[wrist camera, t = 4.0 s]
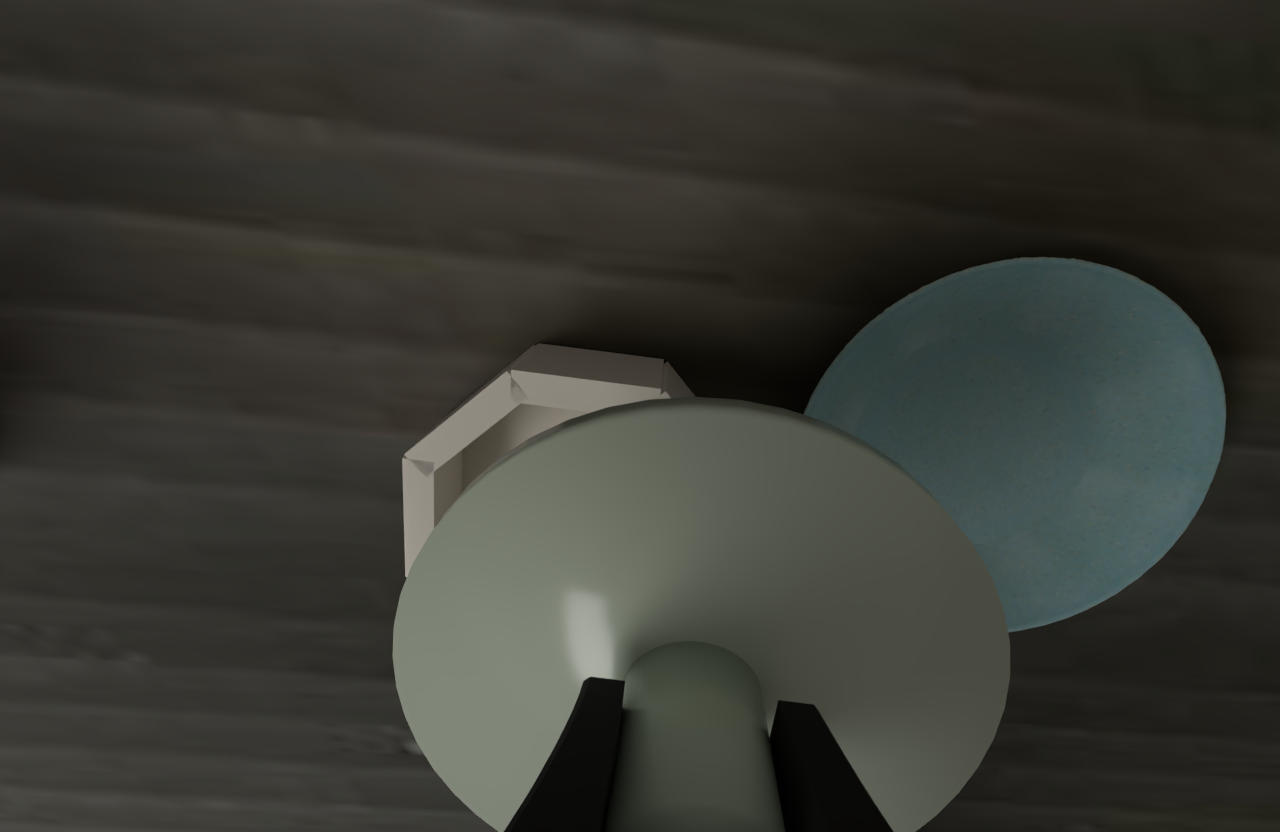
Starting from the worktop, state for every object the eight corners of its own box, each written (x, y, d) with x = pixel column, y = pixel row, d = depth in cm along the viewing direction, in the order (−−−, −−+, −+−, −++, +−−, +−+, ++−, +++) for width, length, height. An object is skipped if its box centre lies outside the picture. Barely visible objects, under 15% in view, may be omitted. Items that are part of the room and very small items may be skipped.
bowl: (792, 518, 20) (812, 574, 17) (572, 655, 23) (556, 724, 20) (607, 285, 18) (592, 300, 15) (385, 465, 20) (335, 510, 17)
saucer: (722, 521, 21) (727, 558, 18) (895, 185, 17) (927, 182, 15) (1018, 636, 21) (1056, 684, 19) (1249, 342, 18) (1329, 361, 15)
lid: (1091, 719, 12) (1276, 954, 8) (643, 915, 14) (631, 1150, 11) (767, 255, 9) (828, 295, 5) (296, 611, 12) (131, 792, 8)
